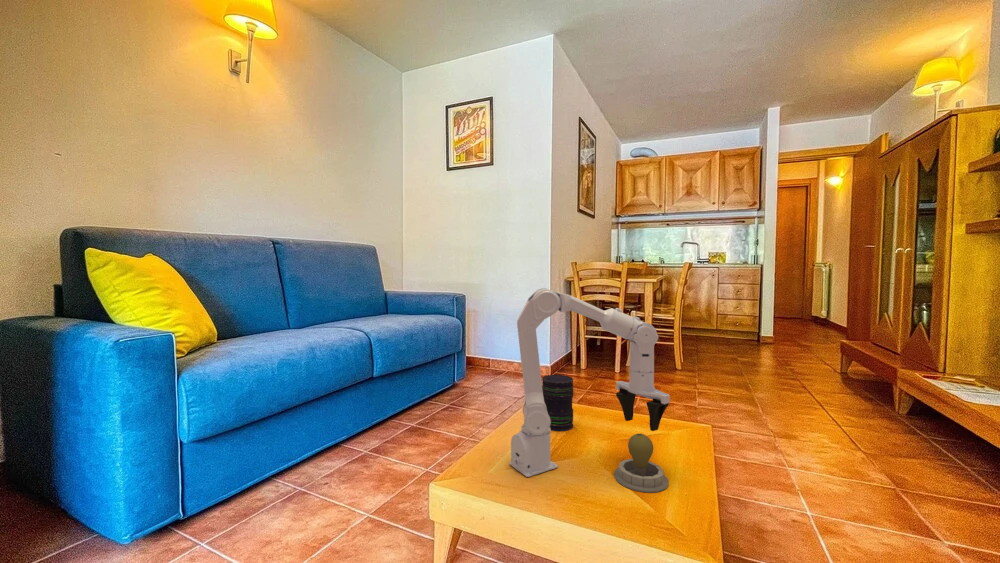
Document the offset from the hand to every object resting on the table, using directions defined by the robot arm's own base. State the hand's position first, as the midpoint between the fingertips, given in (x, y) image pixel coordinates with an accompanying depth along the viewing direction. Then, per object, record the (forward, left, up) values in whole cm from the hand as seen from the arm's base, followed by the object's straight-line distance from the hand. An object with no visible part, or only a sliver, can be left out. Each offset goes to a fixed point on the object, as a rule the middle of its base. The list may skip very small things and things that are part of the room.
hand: (641, 424), depth 99 cm
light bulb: (-5, -4, -10) cm, 12 cm away
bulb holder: (-5, -4, -10) cm, 12 cm away
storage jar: (0, +32, -11) cm, 34 cm away
